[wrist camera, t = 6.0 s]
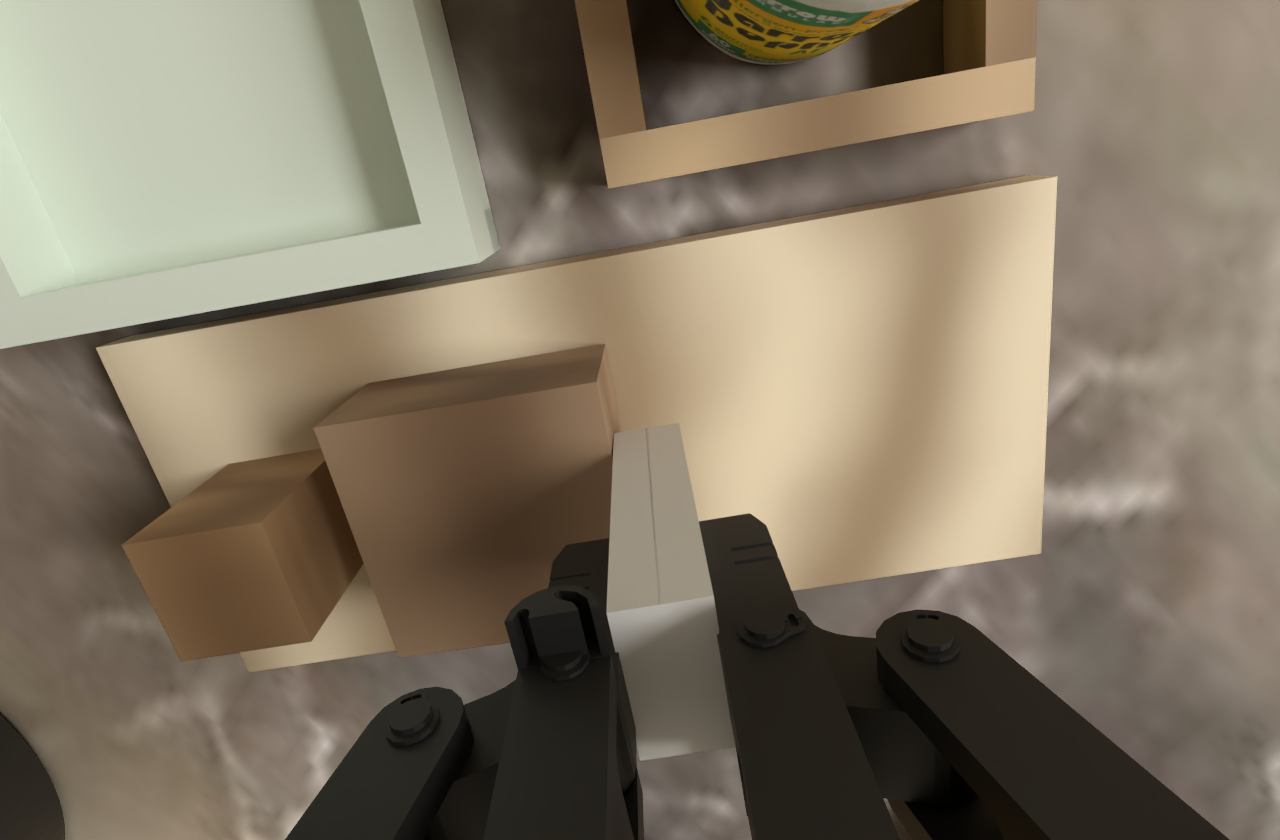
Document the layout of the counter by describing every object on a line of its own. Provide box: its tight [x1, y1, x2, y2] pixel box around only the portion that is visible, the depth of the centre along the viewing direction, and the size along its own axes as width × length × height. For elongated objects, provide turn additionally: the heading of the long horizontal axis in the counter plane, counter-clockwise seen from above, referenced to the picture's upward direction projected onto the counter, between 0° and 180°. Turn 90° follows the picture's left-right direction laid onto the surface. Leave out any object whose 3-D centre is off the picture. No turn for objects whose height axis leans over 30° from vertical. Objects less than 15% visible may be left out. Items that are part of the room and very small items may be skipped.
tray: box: [0, 0, 500, 349], centre depth 14 cm, size 11×11×2 cm
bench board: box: [96, 175, 1057, 672], centre depth 16 cm, size 23×10×5 cm, turn 100°
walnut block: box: [314, 344, 623, 658], centre depth 16 cm, size 6×6×3 cm
